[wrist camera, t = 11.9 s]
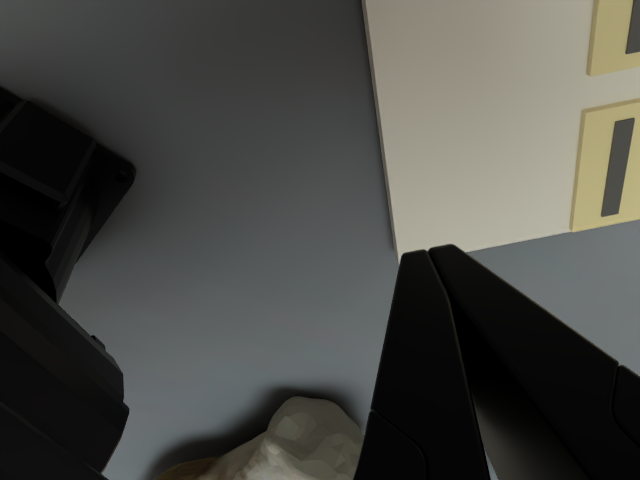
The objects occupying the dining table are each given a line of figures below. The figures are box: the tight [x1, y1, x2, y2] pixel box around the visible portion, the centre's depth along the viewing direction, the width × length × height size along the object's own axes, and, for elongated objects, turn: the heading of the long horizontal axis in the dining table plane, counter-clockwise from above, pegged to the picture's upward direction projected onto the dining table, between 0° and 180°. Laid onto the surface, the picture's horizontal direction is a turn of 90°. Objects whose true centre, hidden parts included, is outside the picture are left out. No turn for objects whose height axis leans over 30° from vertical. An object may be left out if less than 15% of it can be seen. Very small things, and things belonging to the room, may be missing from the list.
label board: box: [361, 0, 640, 265], centre depth 21 cm, size 15×13×2 cm
